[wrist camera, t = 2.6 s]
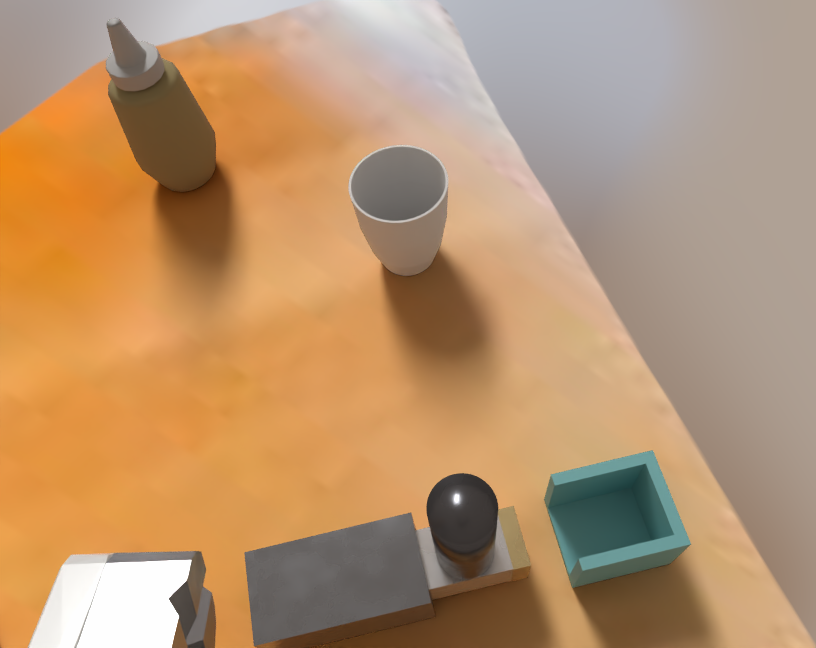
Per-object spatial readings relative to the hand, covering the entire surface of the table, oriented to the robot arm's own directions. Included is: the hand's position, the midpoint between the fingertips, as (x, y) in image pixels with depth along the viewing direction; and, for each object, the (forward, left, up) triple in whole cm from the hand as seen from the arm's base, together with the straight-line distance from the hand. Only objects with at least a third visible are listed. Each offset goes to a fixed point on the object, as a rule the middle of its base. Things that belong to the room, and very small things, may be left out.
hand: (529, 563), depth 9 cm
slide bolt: (+1, +10, -45) cm, 47 cm away
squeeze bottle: (+8, +56, -47) cm, 73 cm away
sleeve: (-3, +12, -46) cm, 48 cm away
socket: (+15, +4, -46) cm, 49 cm away
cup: (+19, +33, -47) cm, 60 cm away
